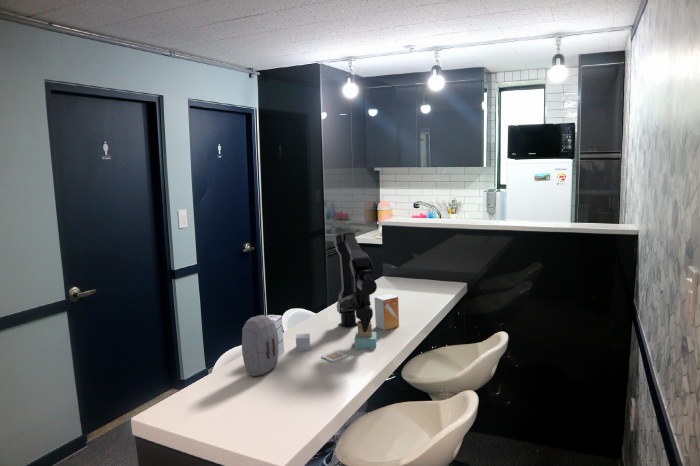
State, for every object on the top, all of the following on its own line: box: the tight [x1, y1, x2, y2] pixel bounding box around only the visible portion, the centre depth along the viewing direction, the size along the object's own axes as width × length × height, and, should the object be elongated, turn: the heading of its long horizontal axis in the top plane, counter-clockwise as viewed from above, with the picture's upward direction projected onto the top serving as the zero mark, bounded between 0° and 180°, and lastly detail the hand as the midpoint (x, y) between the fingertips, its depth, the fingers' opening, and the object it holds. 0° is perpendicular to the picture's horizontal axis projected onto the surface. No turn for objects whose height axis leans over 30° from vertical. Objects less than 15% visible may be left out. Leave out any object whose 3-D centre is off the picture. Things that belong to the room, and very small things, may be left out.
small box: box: [374, 293, 400, 331], centre depth 215 cm, size 8×6×13 cm
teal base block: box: [354, 331, 378, 350], centre depth 196 cm, size 8×8×4 cm
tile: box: [321, 350, 349, 363], centre depth 186 cm, size 7×7×1 cm
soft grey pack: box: [241, 314, 279, 377], centre depth 174 cm, size 15×8×20 cm, turn 150°
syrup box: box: [266, 314, 285, 358], centre depth 191 cm, size 6×6×14 cm
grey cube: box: [295, 333, 311, 352], centre depth 196 cm, size 5×5×5 cm
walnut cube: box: [356, 320, 373, 338], centre depth 196 cm, size 5×5×5 cm
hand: (363, 328), depth 196 cm, fingers open, 9 cm apart
